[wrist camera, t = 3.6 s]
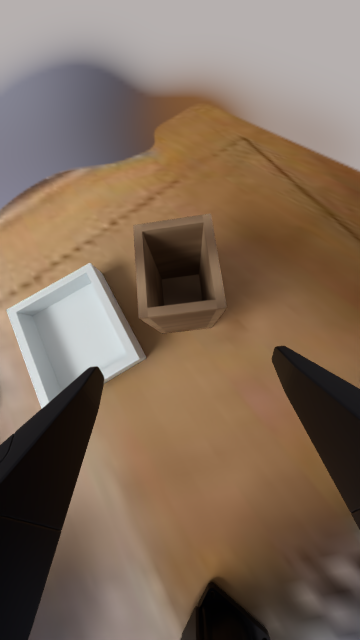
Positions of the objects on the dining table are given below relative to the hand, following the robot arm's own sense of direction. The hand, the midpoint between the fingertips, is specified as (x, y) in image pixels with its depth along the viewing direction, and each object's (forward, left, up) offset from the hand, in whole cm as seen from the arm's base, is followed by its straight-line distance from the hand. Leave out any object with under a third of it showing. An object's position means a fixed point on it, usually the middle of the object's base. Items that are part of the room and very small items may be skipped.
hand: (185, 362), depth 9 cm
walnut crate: (+5, -6, -13) cm, 15 cm away
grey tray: (+14, +5, -13) cm, 19 cm away
